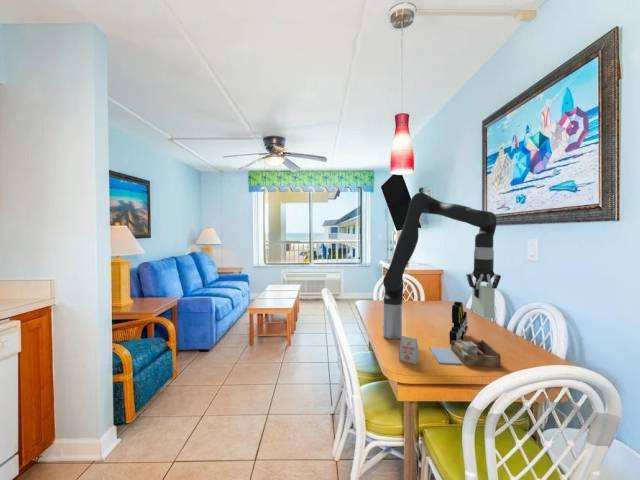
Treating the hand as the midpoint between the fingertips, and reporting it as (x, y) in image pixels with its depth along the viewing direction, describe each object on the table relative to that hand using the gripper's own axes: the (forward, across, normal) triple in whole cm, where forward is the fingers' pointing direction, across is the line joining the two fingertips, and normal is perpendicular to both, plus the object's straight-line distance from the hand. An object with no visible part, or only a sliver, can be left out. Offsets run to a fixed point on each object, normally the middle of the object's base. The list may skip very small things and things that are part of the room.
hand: (482, 297), depth 140 cm
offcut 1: (+26, -6, +4) cm, 27 cm away
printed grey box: (+26, -32, -8) cm, 42 cm away
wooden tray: (+26, -3, 0) cm, 26 cm away
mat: (+26, -15, 0) cm, 30 cm away
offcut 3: (+26, -6, -4) cm, 27 cm away
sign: (+26, -2, +25) cm, 36 cm away
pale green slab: (+7, 0, 0) cm, 7 cm away
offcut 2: (+22, -6, -5) cm, 23 cm away
